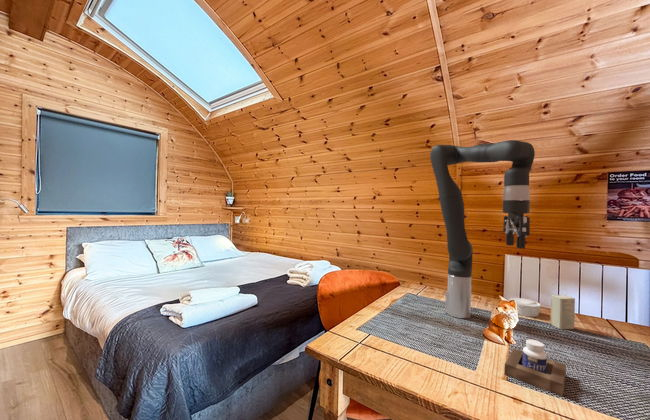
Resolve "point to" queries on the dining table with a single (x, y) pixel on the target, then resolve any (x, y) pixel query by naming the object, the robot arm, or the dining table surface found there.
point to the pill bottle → (535, 356)
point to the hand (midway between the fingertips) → (515, 246)
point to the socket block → (537, 373)
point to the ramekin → (527, 307)
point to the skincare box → (562, 311)
